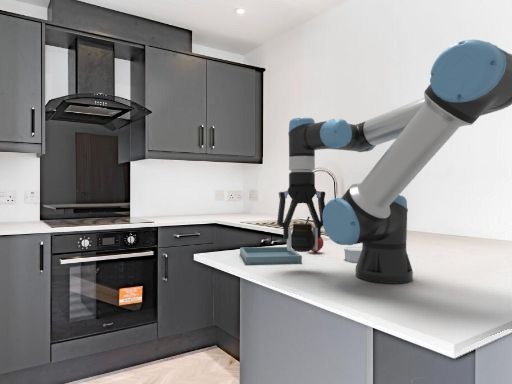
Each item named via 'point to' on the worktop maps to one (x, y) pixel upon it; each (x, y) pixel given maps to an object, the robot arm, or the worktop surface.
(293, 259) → the slate tray
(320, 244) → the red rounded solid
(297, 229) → the mate gourd
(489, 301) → the worktop surface
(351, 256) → the ramekin
